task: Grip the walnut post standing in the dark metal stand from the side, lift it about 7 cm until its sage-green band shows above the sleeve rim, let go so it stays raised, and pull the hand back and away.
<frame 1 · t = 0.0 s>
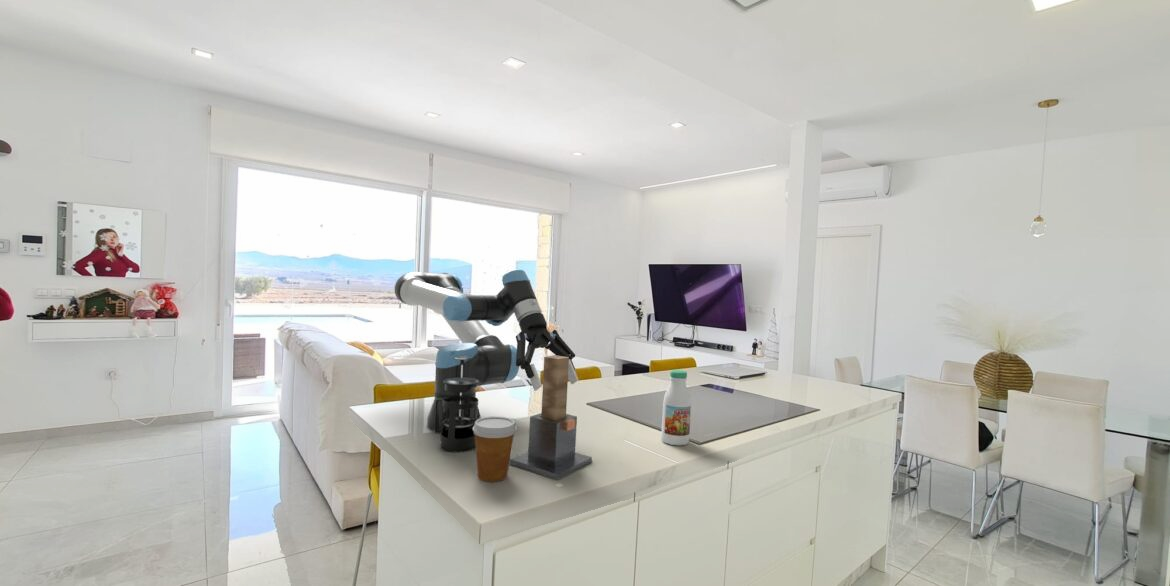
hand: (557, 385, 132), 15 cm above the worktop, tool tilted 35°, fingers open, 13 cm apart
stand: (551, 462, 117), on the worktop
french press: (456, 446, 125), on the worktop
milk bottle: (674, 442, 138), on the worktop
disposable coffee cup: (492, 477, 107), on the worktop
post: (554, 407, 117), point 14 cm above the worktop, slide at 0.0 cm
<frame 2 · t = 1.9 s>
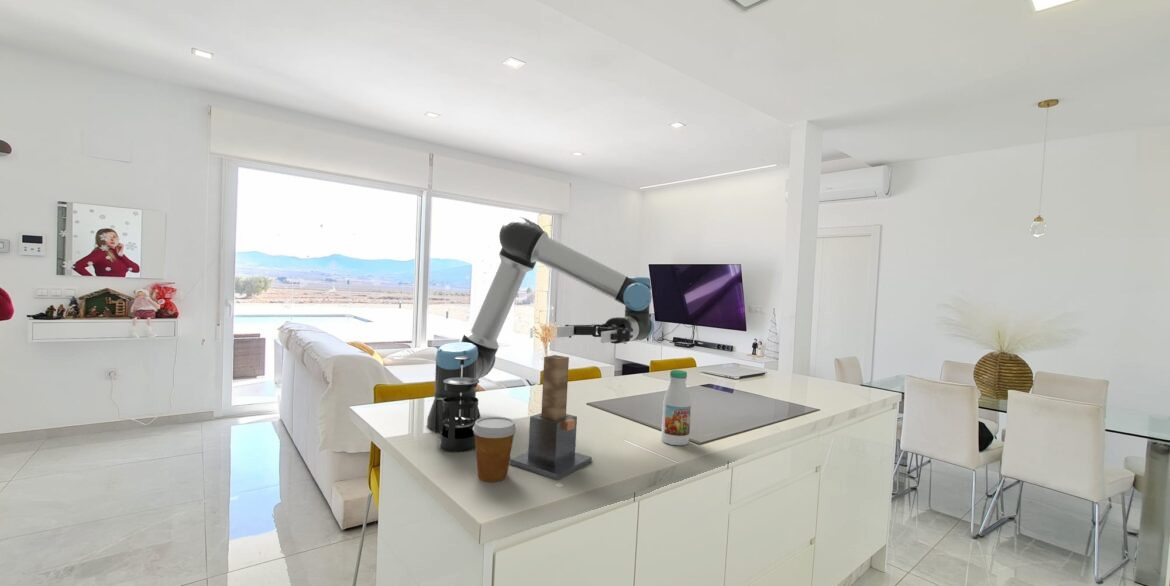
hand: (579, 334, 124), 30 cm above the worktop, tool horizontal, fingers open, 13 cm apart
nothing on the worktop moved.
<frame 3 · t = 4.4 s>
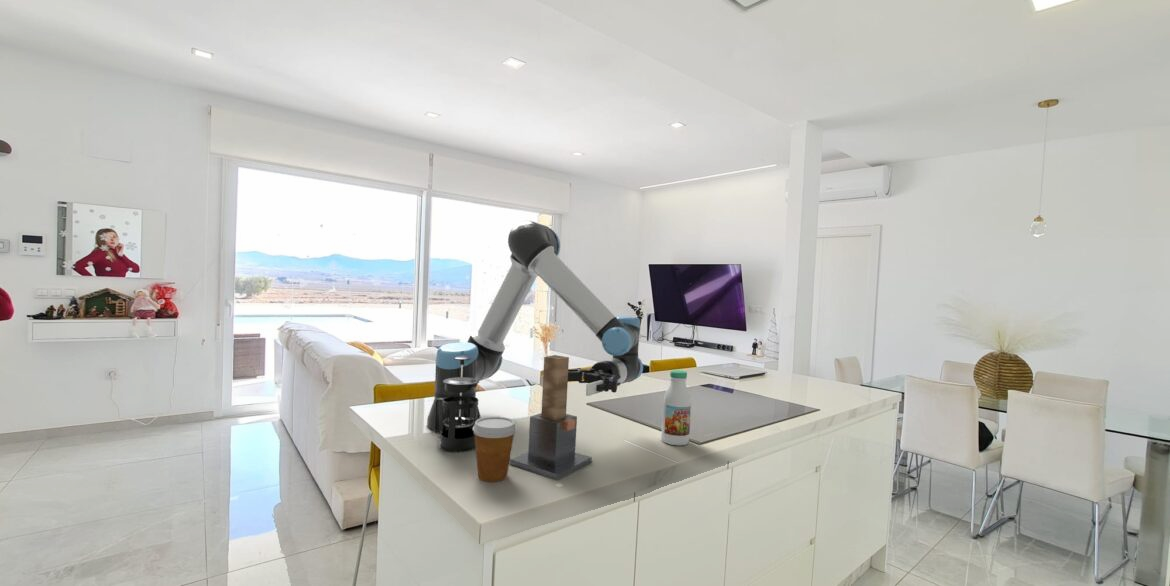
hand: (563, 385, 118), 18 cm above the worktop, tool horizontal, fingers open, 13 cm apart
nothing on the worktop moved.
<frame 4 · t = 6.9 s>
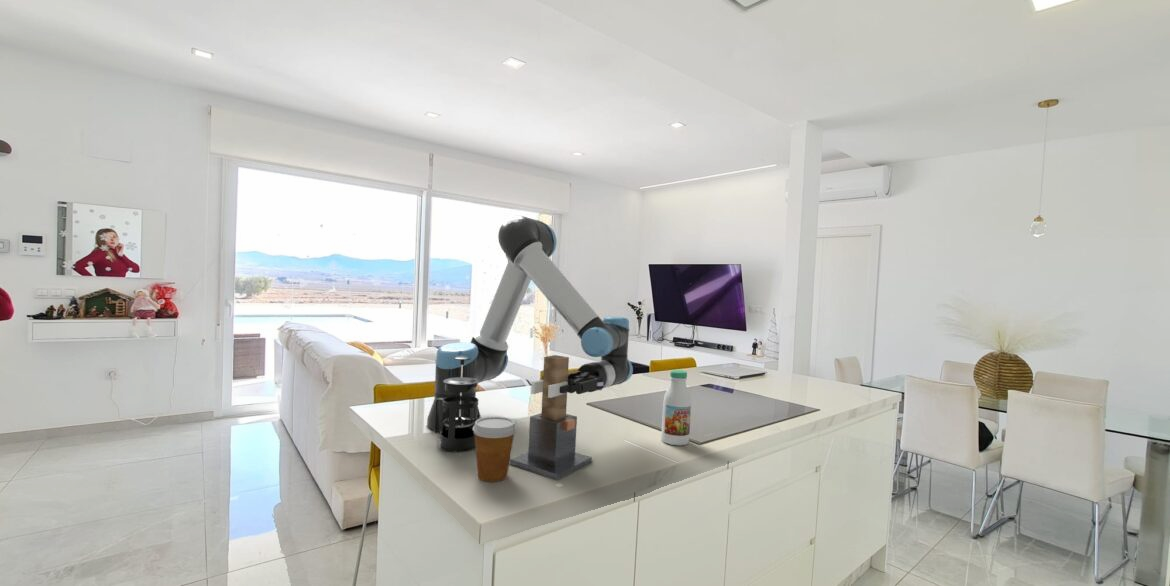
hand: (541, 389, 112), 18 cm above the worktop, tool horizontal, fingers closed on post, 4 cm apart
post: (554, 407, 117), point 13 cm above the worktop, slide at 0.0 cm, touching gripper
everything else where it was.
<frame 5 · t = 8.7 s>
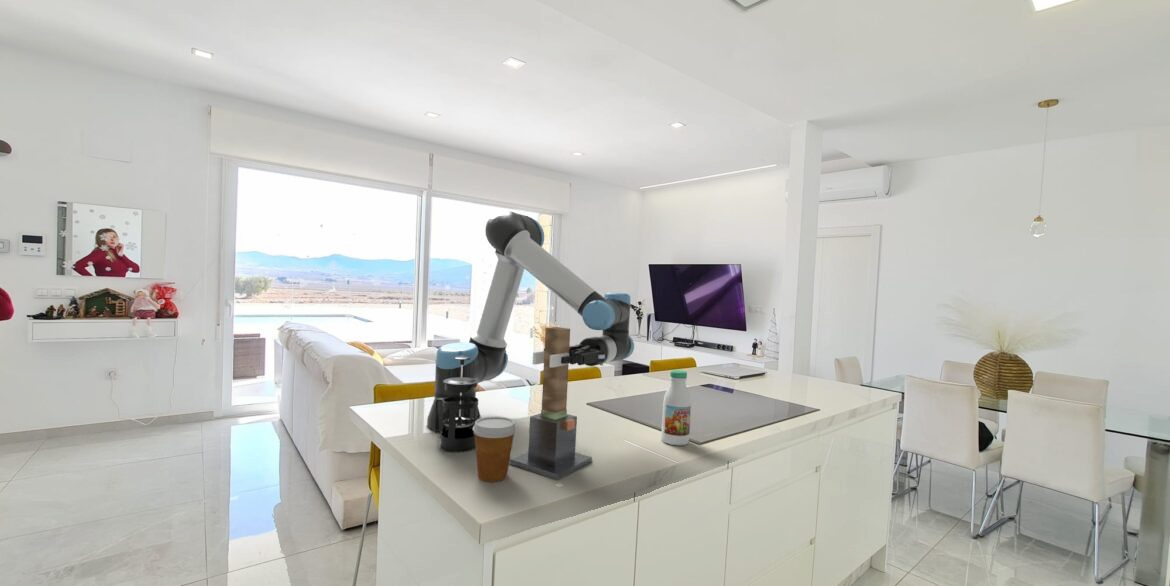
hand: (542, 359, 112), 25 cm above the worktop, tool horizontal, fingers closed on post, 4 cm apart
post: (555, 378, 116), point 20 cm above the worktop, slide at 6.9 cm, touching gripper
everything else where it was.
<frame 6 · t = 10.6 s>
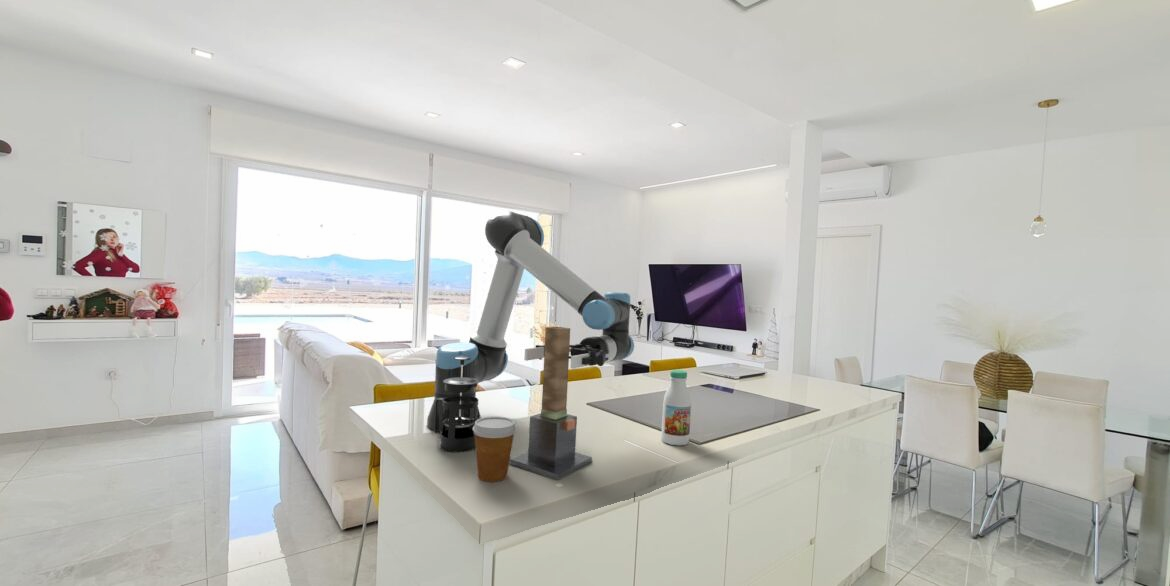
hand: (548, 358, 114), 25 cm above the worktop, tool horizontal, fingers open, 13 cm apart
post: (555, 378, 116), point 20 cm above the worktop, slide at 7.0 cm
everything else where it was.
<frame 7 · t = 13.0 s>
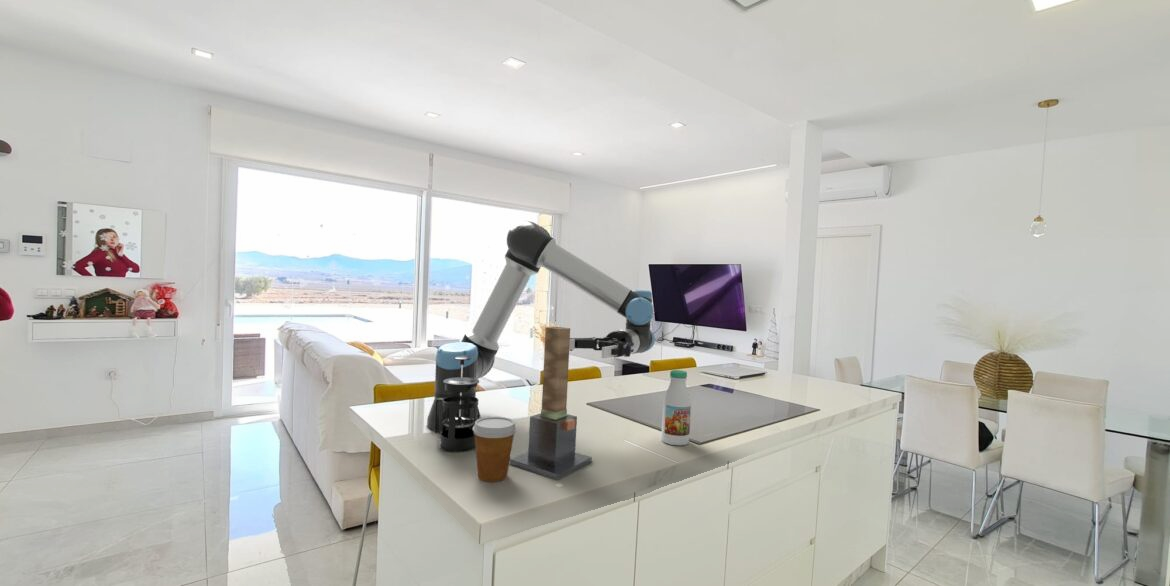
hand: (580, 349, 125), 26 cm above the worktop, tool horizontal, fingers open, 13 cm apart
nothing on the worktop moved.
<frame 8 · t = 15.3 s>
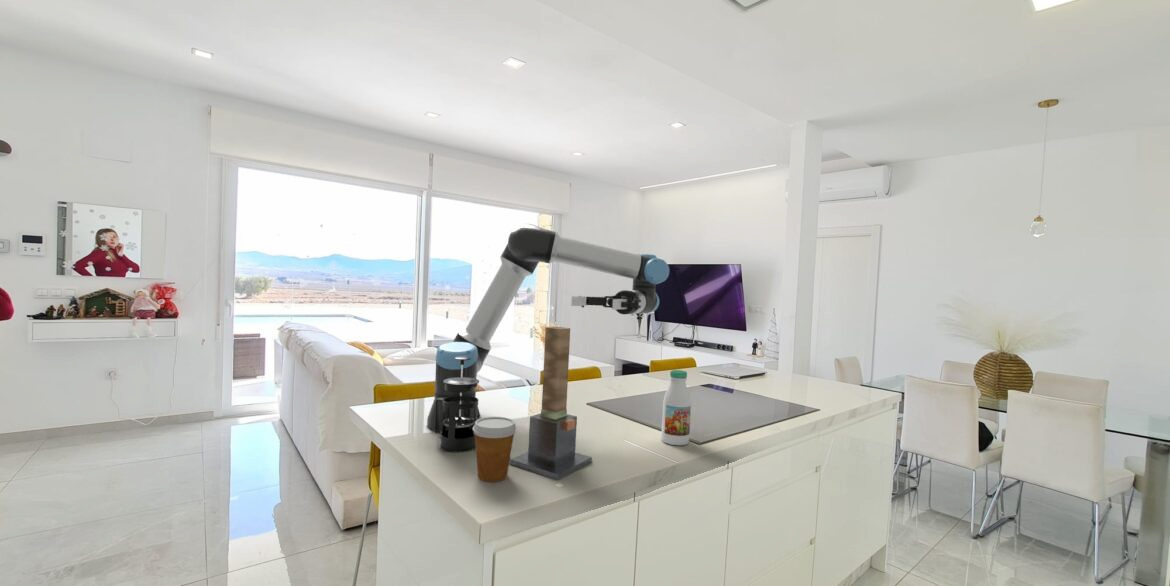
hand: (592, 302, 135), 38 cm above the worktop, tool horizontal, fingers open, 13 cm apart
nothing on the worktop moved.
at the end: post slide at 7.0 cm; the gripper is holding nothing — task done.
